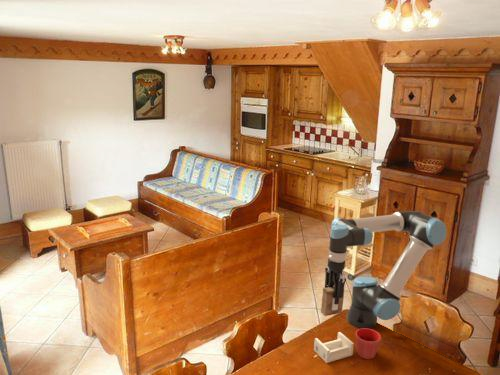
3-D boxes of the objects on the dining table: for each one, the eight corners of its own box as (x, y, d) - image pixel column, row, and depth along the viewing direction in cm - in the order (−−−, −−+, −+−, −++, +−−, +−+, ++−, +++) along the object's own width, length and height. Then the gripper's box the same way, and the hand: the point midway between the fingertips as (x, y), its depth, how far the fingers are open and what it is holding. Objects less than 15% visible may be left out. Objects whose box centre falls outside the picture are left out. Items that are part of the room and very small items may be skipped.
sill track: (339, 343, 203) (340, 331, 202) (352, 355, 195) (353, 343, 193) (313, 350, 198) (314, 338, 196) (326, 363, 189) (327, 350, 187)
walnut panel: (325, 316, 195) (327, 291, 192) (320, 312, 198) (323, 288, 195) (341, 313, 198) (344, 289, 196) (337, 309, 202) (340, 285, 199)
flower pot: (379, 362, 190) (382, 343, 188) (354, 359, 192) (356, 339, 190) (377, 348, 200) (379, 329, 198) (353, 345, 202) (355, 326, 200)
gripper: (319, 253, 198) (315, 300, 204) (340, 267, 183) (335, 318, 189) (333, 251, 201) (329, 297, 206) (355, 265, 186) (349, 315, 192)
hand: (331, 307), depth 198 cm, fingers closed on walnut panel, 3 cm apart
